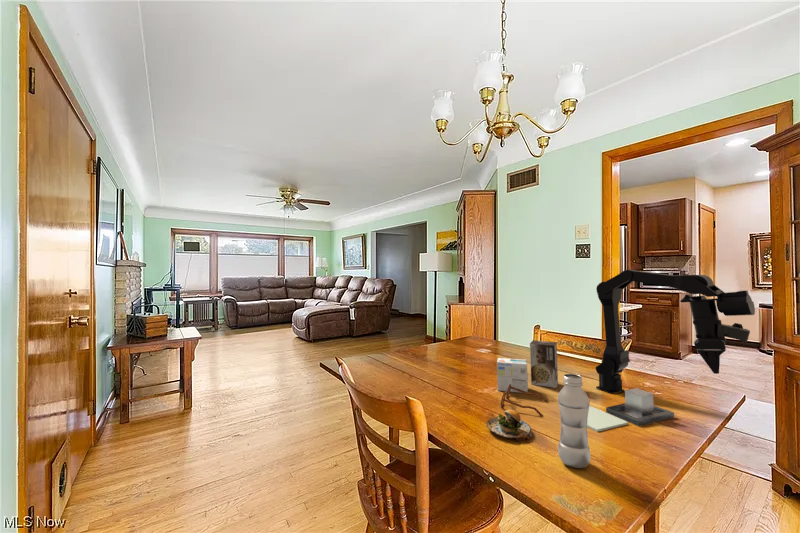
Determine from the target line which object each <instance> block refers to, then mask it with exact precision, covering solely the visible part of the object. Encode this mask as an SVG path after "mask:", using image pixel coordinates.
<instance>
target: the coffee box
mask: <svg viewBox="0 0 800 533" xmlns="http://www.w3.org/2000/svg"><path fill="white" fill-rule="evenodd" d="M557 346H558V342H556V341H546V340H534V339H532V341H531V342H530V343H529V350H530V351H529V352H530V353H529V356H530V357H529V358H530V359H529V360H530V384H531V385H532V384H533V386H540V387H547V388H554V389H557V388H558V385H559V372H558V347H557Z"/></svg>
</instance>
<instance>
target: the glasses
mask: <svg viewBox="0 0 800 533" xmlns="http://www.w3.org/2000/svg"><path fill="white" fill-rule="evenodd" d="M511 389H514V390H517V391H519V392H522V393H521V394H525V395H528V396H535V397H539V398H540V399H542V401H544V402H545V403H549V401H548V400H547V399H546V398H545V397H543V396H542V395H541V394H537V393H535V392H533V393H532V392H525V391H523V390H520V389H517V388H514V387H511V384H509V387H508V390H507V391H503V394H502V397H501V400H500V407H501V408H502V407H503V406H504V404H505V403H509V404H511V405H514V406H515V407H519V408H522V409H532V410H534V411H535V412H536V413H537V414H538V415H539V416H540V417H544V414H542V412H541V411H539V410H538V409H537V408H536V407H533V406H530V405H522V404H520V403H517V402H514V401H511V400H508V399H509V396H510V393H511V392H510V390H511ZM508 391H509V392H508ZM516 404H517V405H516Z"/></svg>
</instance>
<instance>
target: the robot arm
mask: <svg viewBox="0 0 800 533" xmlns="http://www.w3.org/2000/svg"><path fill="white" fill-rule="evenodd" d="M633 282H636V283H642V284H650V285H656V286H662V287H663V286H664V287H670V288H673V289H675V290H678V291H681V292H685V293H688V294H685V295H684V297H683V298H681V299H680V302H681V303H689V307H690V311H691V316H692V325H693V326H694V330H695V338H696V339H695V340H694V342H693V344H694V349H695V350H696V352H697V353H698V354H699V355H700V356H701V358H702V359H703V360H704V362H705V363H706V365H707V367H709V369H710V371H711V372H712V373H713V374H715V375H717V374H720V367H721V366H720V363H721V360H720V359H721V355H722V354H723V353H724V352H726V351H727V348H726V342H727V341H726V340H727V339H726V337H727V338H729V339H734V340H738V341H740V342H744V343H748V341H749V338H750V337H749V336H750V334H751V331H750V329H748V328H744V326H743V324H741V323H737V322H734V323H733V324H732V325H730V324H724V323H722V320H721V319H720V318H719V313H720V314H723V315H724V316H725V317H731V316H735V317H736V316H755V313H756V308H755V304H754V303H755V302H754V301H753V300H752V297H751V295H750V294H749V290H738V291H731V292H730V291H729V292H726V291H723V289H720V288H719V287H718V286H717V285H715V284H714V281H713V279H712V278H711V277H710V276H708V275H706V274H675V275H674V274H668V273H667V274H666V273H658V272H651V271H650V272H649V271H643V270H642V271H641V270H635V269H625V270H623V271H621V272H620V273H619V274H618V273H617V275H615V276H613V277H611V278H609V279H607V280H605V281H602V282H600V283H598V284H597V285H596V294H597V297H598V300H599V301H600V303H601V305H602V310H603V322H604V323H603V324H604V332H605V348H604V350H603V354H602V362H601V363H600V364H598V365H597V366H595V371H596V373H597V374H598V382H599V383H598V386H595V388H596V389H598V390H601V391H604V392H606V393H609V394H618V393H622V392H624V393H625V389H623V380H622V375H621V374H620V373H623V371H624V369H626V368H627V367H628V366H629V363H631V360H630V351H629V350H625V349H624V347H623V346H622V337H621V324H620V313H619V312H620V311H619V304H620V302H621V299H622V294H623V293H622V292H623V290H624V289H626V288H627V287H628V286H630V284H631V283H633ZM691 294H692V295H693V296H692V295H691ZM694 295H695V296H694ZM708 297H709V298H708ZM710 297H715V298H710Z"/></svg>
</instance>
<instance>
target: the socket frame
mask: <svg viewBox="0 0 800 533" xmlns="http://www.w3.org/2000/svg"><path fill="white" fill-rule="evenodd" d="M653 406H654V414H652V415H648V416H644V417H639V418H636V417H634V416H631V415H629V414H627V413H625V402H624V403H621V404H616V405H611V406H606V407H605V412H606V413H608V414H610V415H613V416H615V417H617V418H620V419H622V420H624V421H627V422H628V423H630V424H632V425H634V426H637V427H642V426H646V425H651V424H654V423H658V422H662V421H667V420H669V419H670V420H671V419H674V418H675V412H674V411H672V410H668V409H666V408H662V407H660V406H657V405H654V404H653Z"/></svg>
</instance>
